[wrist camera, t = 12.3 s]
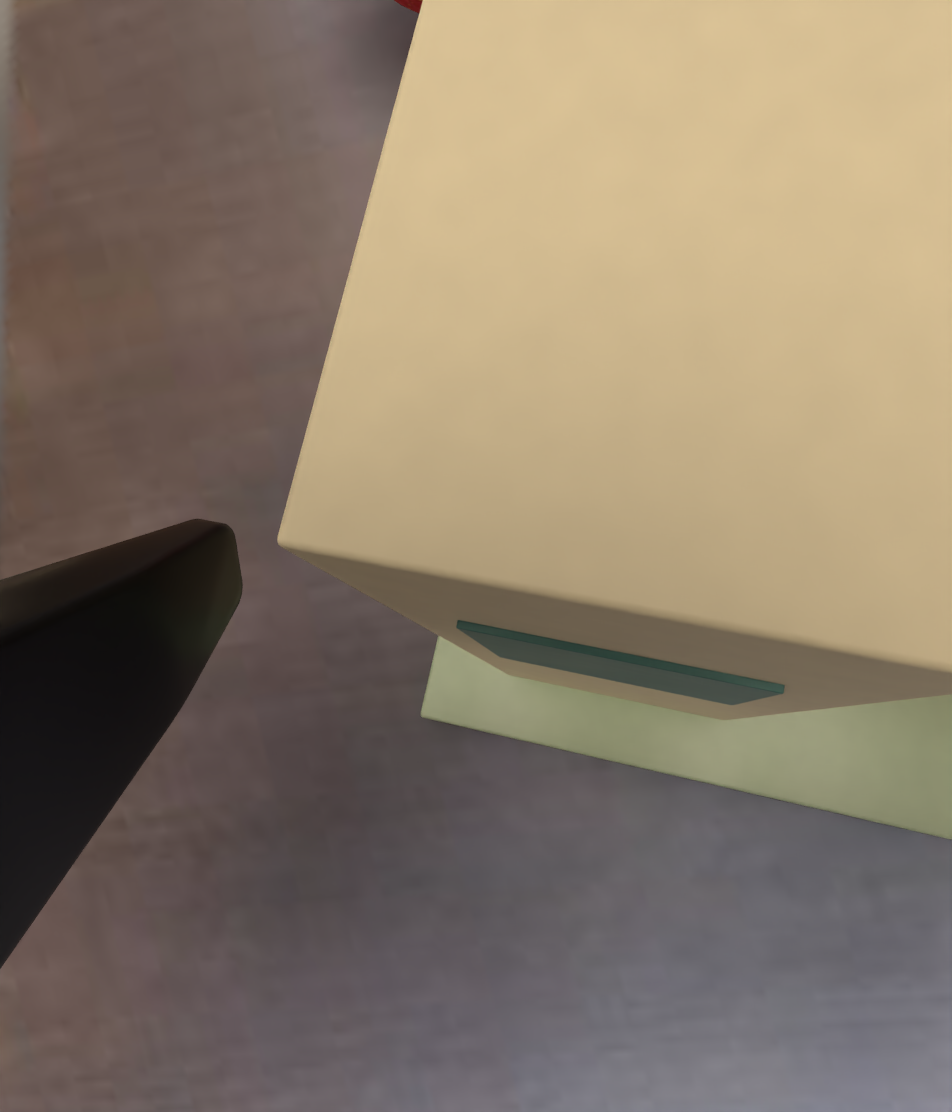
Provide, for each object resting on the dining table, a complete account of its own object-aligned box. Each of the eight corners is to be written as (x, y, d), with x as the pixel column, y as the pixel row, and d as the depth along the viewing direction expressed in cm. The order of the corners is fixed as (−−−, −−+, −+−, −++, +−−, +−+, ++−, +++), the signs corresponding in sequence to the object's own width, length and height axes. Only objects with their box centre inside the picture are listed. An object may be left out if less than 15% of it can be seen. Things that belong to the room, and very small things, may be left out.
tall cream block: (725, 724, 16) (1035, 702, 4) (505, 678, 17) (267, 557, 5) (759, 505, 17) (1091, -8, 5) (548, 473, 18) (425, -23, 6)
